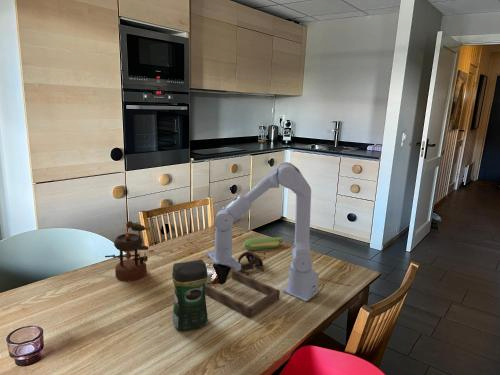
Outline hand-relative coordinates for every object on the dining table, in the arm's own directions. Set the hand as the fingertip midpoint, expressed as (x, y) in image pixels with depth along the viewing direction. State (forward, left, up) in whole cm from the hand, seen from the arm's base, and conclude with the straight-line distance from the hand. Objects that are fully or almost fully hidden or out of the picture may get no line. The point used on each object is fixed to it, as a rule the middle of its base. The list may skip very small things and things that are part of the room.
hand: (222, 283), depth 123 cm
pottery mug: (+2, -17, -2) cm, 17 cm away
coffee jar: (-8, +21, -2) cm, 22 cm away
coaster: (+10, 0, -2) cm, 10 cm away
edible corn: (+10, -37, -2) cm, 39 cm away
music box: (+29, +17, -2) cm, 34 cm away
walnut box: (-9, 0, -1) cm, 9 cm away
